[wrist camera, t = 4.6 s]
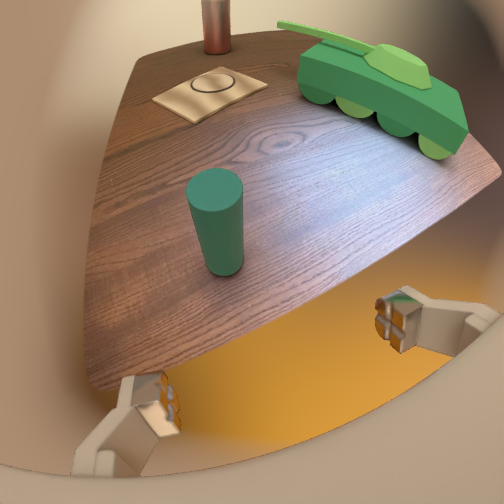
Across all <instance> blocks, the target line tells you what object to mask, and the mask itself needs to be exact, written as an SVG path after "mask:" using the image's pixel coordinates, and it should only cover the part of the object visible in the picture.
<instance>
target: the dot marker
mask: <svg viewBox="0 0 504 504" xmlns="http://www.w3.org/2000/svg"><path fill="white" fill-rule="evenodd" d="M186 196H187V200H188V204H189V207H190V211H191V215H192V218H193V222H194V225H195V229H196V232H197V236H198V239H199V243H200V246H201V249H202V253H203V256H204V259H205V263H206V265H207V267H208V269H209V270H210V271H211V272H212V273H214V274H216V275H220V276H228V275H231V274H234V273H235V272H237V271H238V270H239V269H240V268H241V266H242V264H243V260H244V243H243V185H242V182H241V180H240V178H239V177H238V176H237V175H236V174H235V173H233V172H231V171H229V170H226V169H221V168H212V169H207V170H204V171H202V172H200V173H198V174H196V175H195V176H194V177H193V178H192V179H191V180H190V181H189V183H188V185H187V188H186Z"/></svg>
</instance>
